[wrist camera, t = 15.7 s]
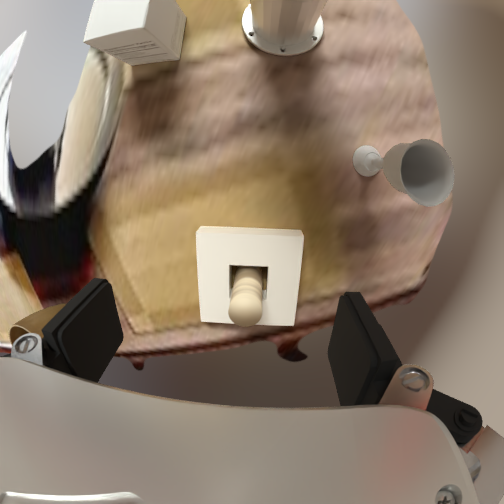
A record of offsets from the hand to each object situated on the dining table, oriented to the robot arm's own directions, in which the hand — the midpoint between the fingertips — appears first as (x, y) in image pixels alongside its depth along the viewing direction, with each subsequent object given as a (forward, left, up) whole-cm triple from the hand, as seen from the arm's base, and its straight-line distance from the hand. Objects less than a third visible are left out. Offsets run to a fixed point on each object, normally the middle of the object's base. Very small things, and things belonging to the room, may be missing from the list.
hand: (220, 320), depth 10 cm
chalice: (-6, +18, -34) cm, 38 cm away
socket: (+14, 0, -33) cm, 36 cm away
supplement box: (-26, -16, -34) cm, 45 cm away
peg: (+14, 0, -33) cm, 36 cm away
